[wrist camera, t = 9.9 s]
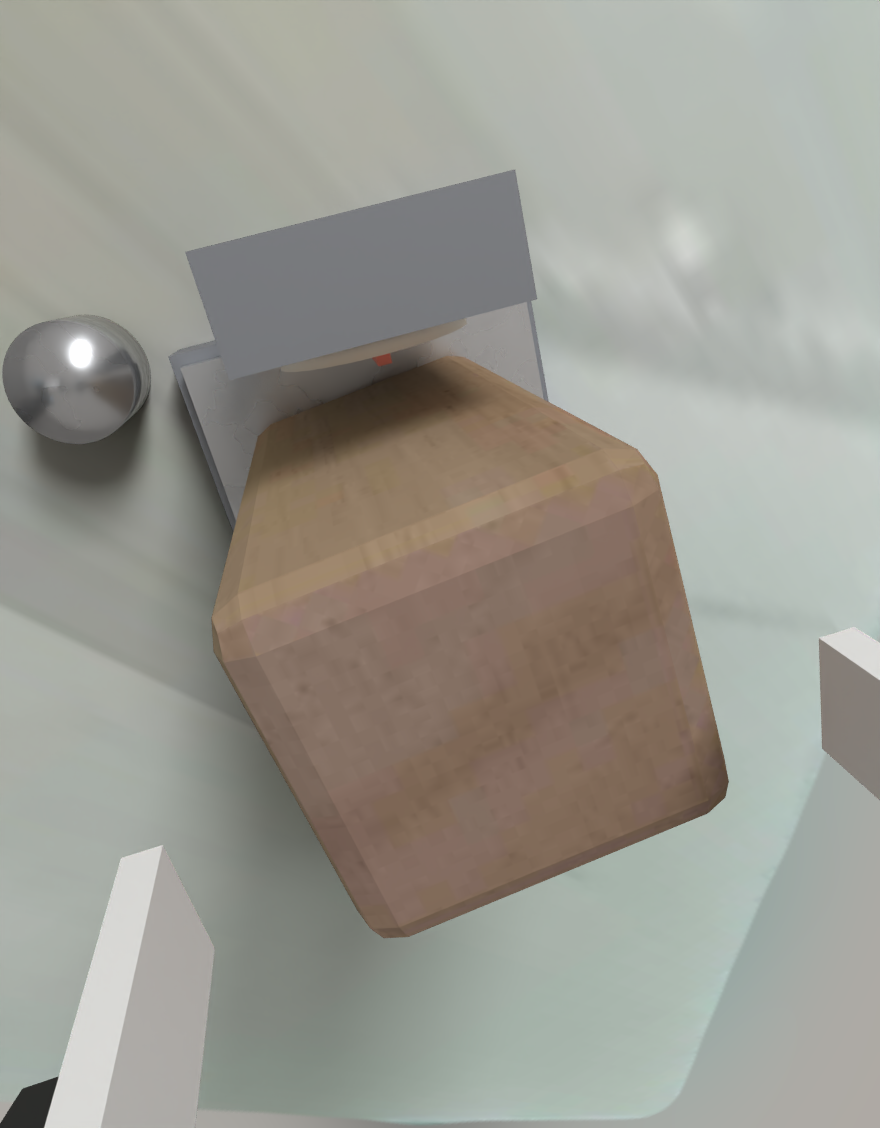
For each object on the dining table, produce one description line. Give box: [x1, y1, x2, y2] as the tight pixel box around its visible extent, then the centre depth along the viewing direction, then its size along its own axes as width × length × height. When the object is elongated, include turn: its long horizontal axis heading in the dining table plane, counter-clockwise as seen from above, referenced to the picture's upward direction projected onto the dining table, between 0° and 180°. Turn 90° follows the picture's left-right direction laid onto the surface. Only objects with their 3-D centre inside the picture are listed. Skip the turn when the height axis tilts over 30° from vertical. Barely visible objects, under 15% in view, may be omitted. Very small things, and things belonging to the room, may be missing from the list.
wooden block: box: [212, 356, 729, 938], centre depth 25 cm, size 10×10×20 cm
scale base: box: [169, 170, 549, 532], centre depth 30 cm, size 16×19×18 cm
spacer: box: [3, 315, 151, 444], centre depth 33 cm, size 5×5×4 cm
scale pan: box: [180, 302, 544, 520], centre depth 36 cm, size 15×15×4 cm
